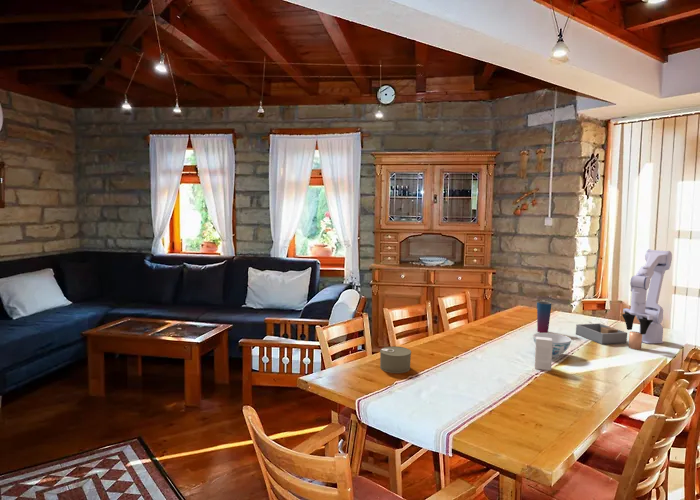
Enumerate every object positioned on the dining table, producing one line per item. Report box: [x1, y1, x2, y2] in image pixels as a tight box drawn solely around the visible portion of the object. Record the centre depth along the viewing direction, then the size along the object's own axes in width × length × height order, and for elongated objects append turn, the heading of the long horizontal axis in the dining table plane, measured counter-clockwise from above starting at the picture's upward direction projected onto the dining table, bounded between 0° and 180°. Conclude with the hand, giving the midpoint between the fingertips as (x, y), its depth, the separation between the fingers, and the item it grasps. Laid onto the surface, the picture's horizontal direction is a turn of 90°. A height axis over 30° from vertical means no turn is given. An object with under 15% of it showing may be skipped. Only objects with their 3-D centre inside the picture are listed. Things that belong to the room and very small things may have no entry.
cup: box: [536, 300, 552, 333], centre depth 241 cm, size 7×7×15 cm
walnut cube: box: [601, 326, 619, 334], centre depth 228 cm, size 5×5×5 cm
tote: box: [575, 322, 628, 346], centre depth 231 cm, size 14×18×5 cm
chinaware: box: [532, 332, 572, 358], centre depth 204 cm, size 15×15×8 cm
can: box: [379, 345, 412, 374], centre depth 184 cm, size 12×12×7 cm
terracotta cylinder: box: [628, 330, 643, 351], centre depth 216 cm, size 5×5×7 cm
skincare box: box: [534, 337, 553, 371], centre depth 187 cm, size 6×4×12 cm
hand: (636, 331), depth 216 cm, fingers open, 7 cm apart
